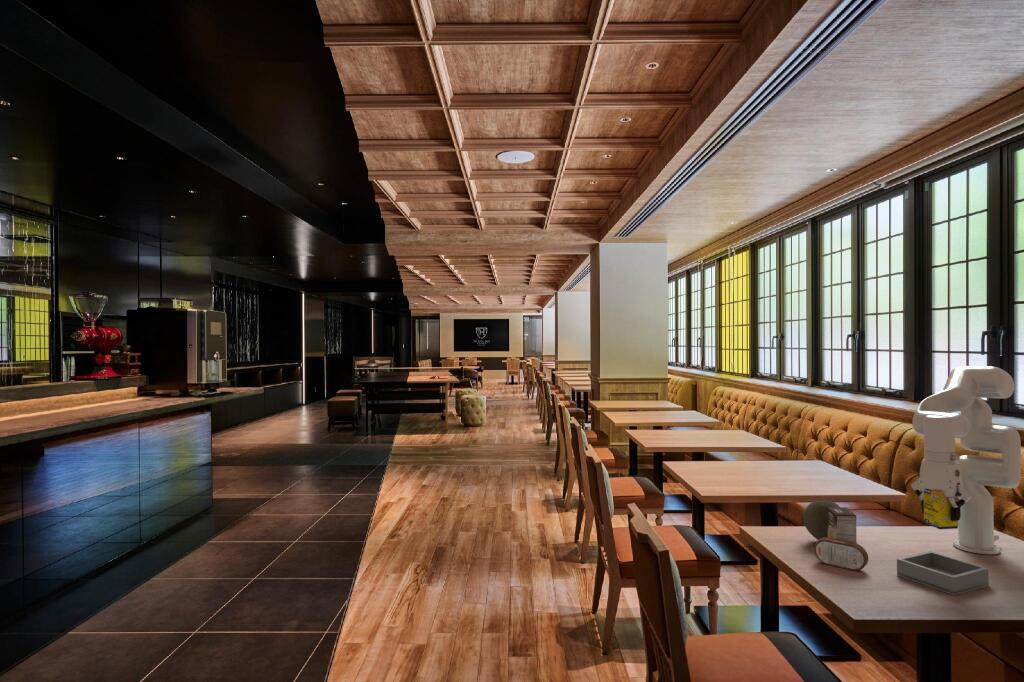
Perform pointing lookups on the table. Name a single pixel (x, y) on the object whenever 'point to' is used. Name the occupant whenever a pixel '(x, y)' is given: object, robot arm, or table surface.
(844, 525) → the coffee box
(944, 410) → the robot arm
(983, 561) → the table surface
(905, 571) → the tote
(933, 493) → the supplement box
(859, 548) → the tin
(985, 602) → the table surface
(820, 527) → the smooth river stone
